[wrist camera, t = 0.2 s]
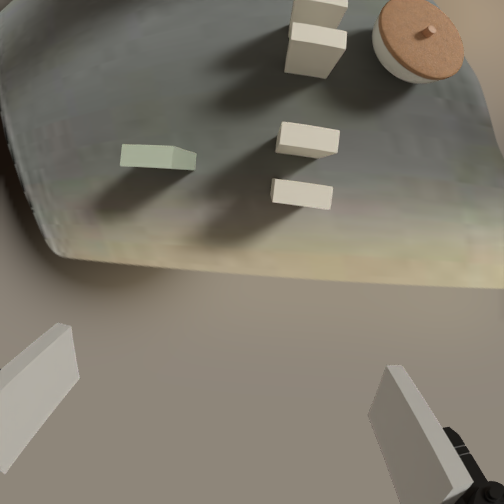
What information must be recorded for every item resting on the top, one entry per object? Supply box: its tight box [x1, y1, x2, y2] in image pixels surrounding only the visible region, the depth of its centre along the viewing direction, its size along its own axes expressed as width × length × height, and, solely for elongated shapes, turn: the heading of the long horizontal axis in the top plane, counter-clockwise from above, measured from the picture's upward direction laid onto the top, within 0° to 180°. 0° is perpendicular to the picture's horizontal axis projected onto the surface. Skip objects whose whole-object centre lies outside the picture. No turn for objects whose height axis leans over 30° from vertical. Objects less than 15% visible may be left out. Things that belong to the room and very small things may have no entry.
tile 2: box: [284, 22, 347, 79], centre depth 28 cm, size 2×5×10 cm, turn 83°
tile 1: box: [288, 0, 348, 38], centre depth 27 cm, size 2×5×10 cm, turn 83°
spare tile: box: [120, 144, 197, 170], centre depth 31 cm, size 2×5×10 cm, turn 83°
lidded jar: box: [372, 0, 464, 84], centre depth 27 cm, size 11×11×9 cm
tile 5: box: [270, 178, 333, 210], centre depth 32 cm, size 2×5×10 cm, turn 83°
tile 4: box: [275, 122, 340, 159], centre depth 31 cm, size 2×5×10 cm, turn 83°
